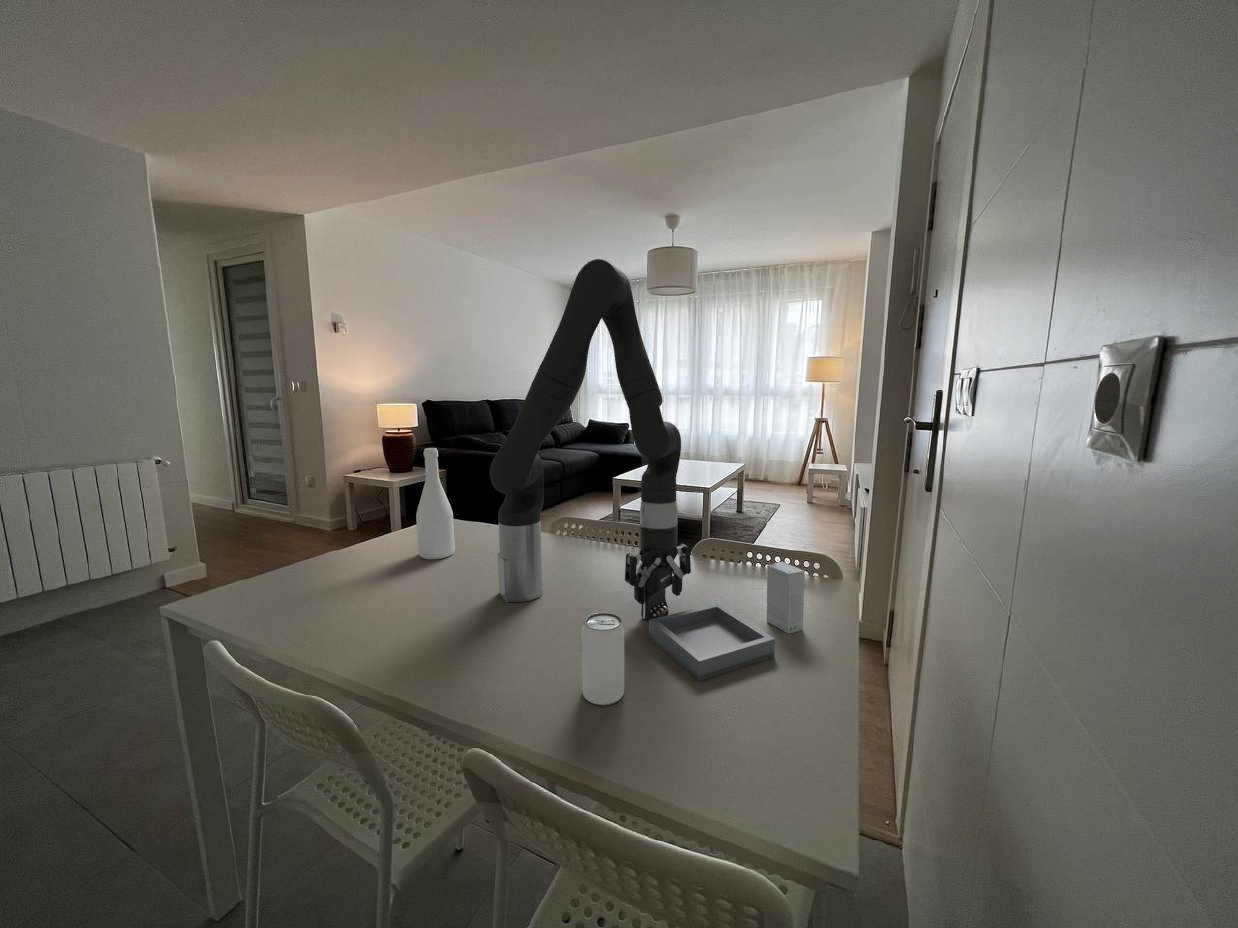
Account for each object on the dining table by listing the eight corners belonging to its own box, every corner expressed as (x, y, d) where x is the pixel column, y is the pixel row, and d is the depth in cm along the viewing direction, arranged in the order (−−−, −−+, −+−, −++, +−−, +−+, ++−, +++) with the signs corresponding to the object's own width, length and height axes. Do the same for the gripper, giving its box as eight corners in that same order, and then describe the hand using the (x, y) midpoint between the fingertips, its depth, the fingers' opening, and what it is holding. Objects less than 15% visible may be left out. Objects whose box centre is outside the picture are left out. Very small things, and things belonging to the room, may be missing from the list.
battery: (655, 624, 99) (656, 569, 97) (640, 619, 102) (640, 565, 100) (674, 611, 105) (674, 559, 103) (658, 607, 107) (659, 555, 105)
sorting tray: (698, 681, 80) (699, 661, 80) (648, 636, 94) (649, 619, 94) (774, 657, 87) (775, 638, 87) (717, 619, 101) (717, 603, 101)
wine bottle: (421, 550, 144) (414, 447, 139) (456, 547, 146) (450, 446, 141) (416, 561, 135) (409, 451, 130) (453, 558, 137) (447, 450, 132)
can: (582, 682, 80) (581, 611, 78) (622, 680, 81) (622, 610, 79) (582, 708, 74) (581, 632, 72) (626, 705, 74) (626, 630, 72)
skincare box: (803, 630, 97) (807, 570, 95) (786, 635, 95) (789, 574, 93) (780, 616, 102) (783, 560, 100) (764, 621, 100) (766, 563, 99)
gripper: (678, 513, 106) (677, 585, 109) (618, 522, 100) (619, 598, 103) (698, 521, 100) (697, 598, 102) (636, 531, 94) (636, 613, 96)
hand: (658, 598), depth 103 cm, fingers open, 8 cm apart
